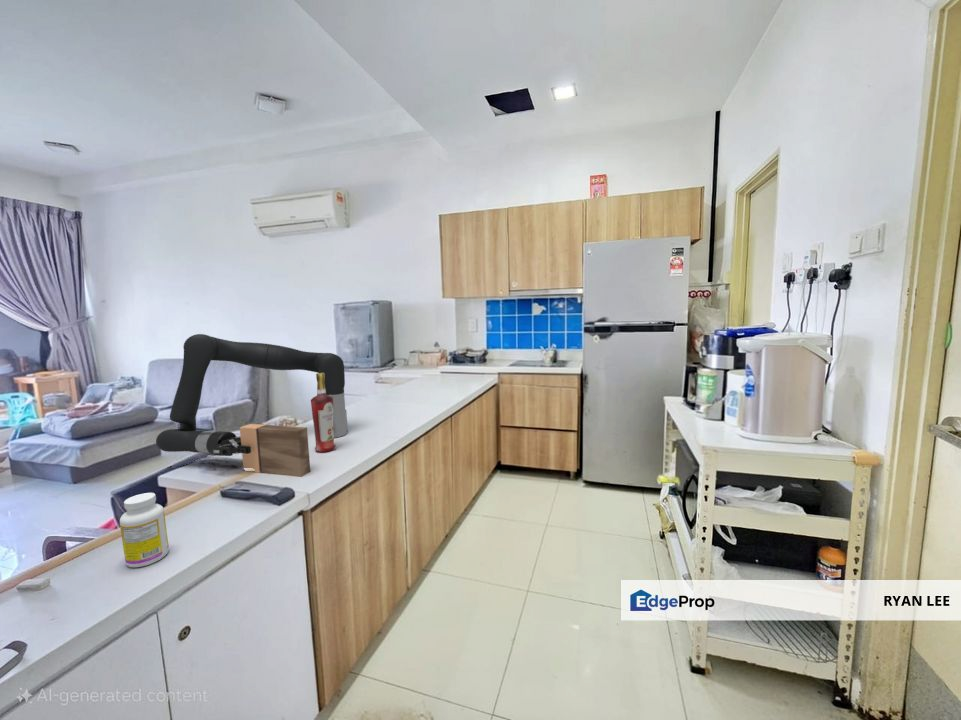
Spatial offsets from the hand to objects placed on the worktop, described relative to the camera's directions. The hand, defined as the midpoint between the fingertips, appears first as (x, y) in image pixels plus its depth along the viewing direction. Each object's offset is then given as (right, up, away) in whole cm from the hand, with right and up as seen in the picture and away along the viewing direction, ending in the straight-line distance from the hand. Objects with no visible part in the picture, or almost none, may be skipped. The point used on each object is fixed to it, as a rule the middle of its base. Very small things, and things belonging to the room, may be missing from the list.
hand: (259, 446), depth 120 cm
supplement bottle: (+2, -13, -43) cm, 45 cm away
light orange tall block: (-1, -8, +1) cm, 8 cm away
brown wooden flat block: (+9, -8, -1) cm, 12 cm away
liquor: (+13, -6, +18) cm, 23 cm away
